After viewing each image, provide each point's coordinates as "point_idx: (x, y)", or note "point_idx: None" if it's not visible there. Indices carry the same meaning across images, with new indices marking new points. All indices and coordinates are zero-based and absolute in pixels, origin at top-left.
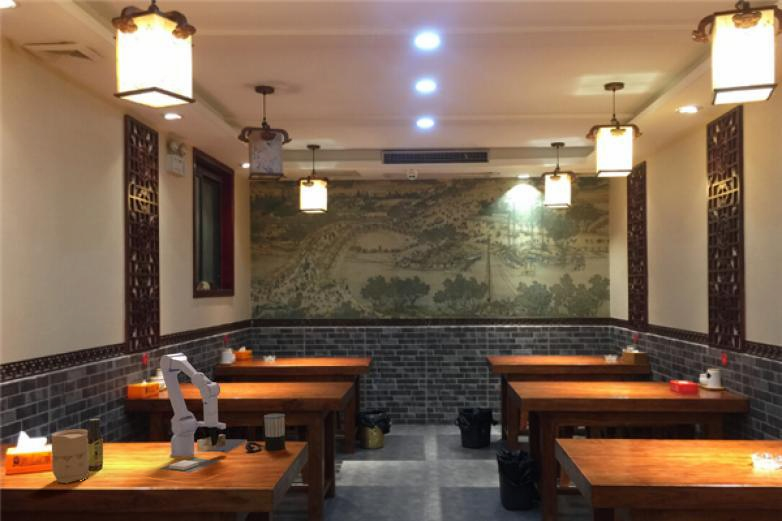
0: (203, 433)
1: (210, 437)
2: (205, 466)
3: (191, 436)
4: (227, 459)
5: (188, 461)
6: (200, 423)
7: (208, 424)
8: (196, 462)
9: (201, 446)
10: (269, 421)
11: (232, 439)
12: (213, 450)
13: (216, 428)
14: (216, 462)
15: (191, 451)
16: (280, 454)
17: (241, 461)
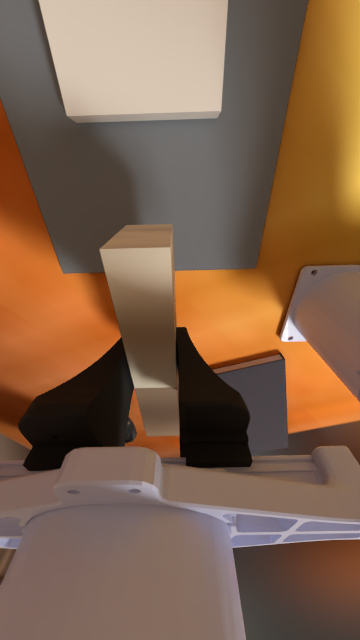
0: (202, 375)
1: (158, 372)
2: (17, 125)
3: (357, 373)
4: (97, 319)
5: (151, 83)
6: (290, 505)
7: (55, 503)
8: (62, 84)
9: (120, 233)
10: (4, 554)
11: (257, 451)
12: (232, 371)
13: (33, 452)
14: (58, 241)
15: (303, 315)
16: (7, 409)
17: (14, 316)
